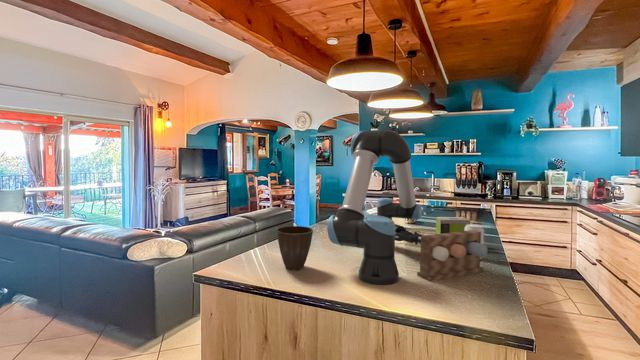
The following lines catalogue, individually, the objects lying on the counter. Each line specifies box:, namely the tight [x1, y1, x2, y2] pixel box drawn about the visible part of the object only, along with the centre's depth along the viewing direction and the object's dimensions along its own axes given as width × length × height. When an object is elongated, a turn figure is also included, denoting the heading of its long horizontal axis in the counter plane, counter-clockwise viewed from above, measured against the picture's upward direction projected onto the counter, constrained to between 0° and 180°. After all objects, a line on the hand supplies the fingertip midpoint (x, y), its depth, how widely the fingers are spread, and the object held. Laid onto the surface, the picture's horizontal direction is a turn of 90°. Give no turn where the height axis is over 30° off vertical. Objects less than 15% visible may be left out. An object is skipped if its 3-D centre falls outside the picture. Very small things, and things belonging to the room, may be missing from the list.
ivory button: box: [432, 246, 449, 261], centre depth 128 cm, size 5×9×5 cm, turn 25°
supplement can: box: [464, 223, 485, 260], centre depth 155 cm, size 8×8×15 cm
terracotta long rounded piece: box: [450, 243, 466, 258], centre depth 132 cm, size 5×9×5 cm, turn 25°
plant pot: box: [276, 225, 314, 271], centre depth 138 cm, size 15×15×16 cm
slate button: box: [467, 241, 488, 258], centre depth 134 cm, size 5×9×5 cm, turn 25°
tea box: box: [435, 216, 471, 234], centre depth 176 cm, size 15×10×15 cm, turn 84°
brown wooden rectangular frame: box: [416, 230, 484, 283], centre depth 133 cm, size 28×7×16 cm, turn 115°
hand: (430, 243), depth 142 cm, fingers closed
